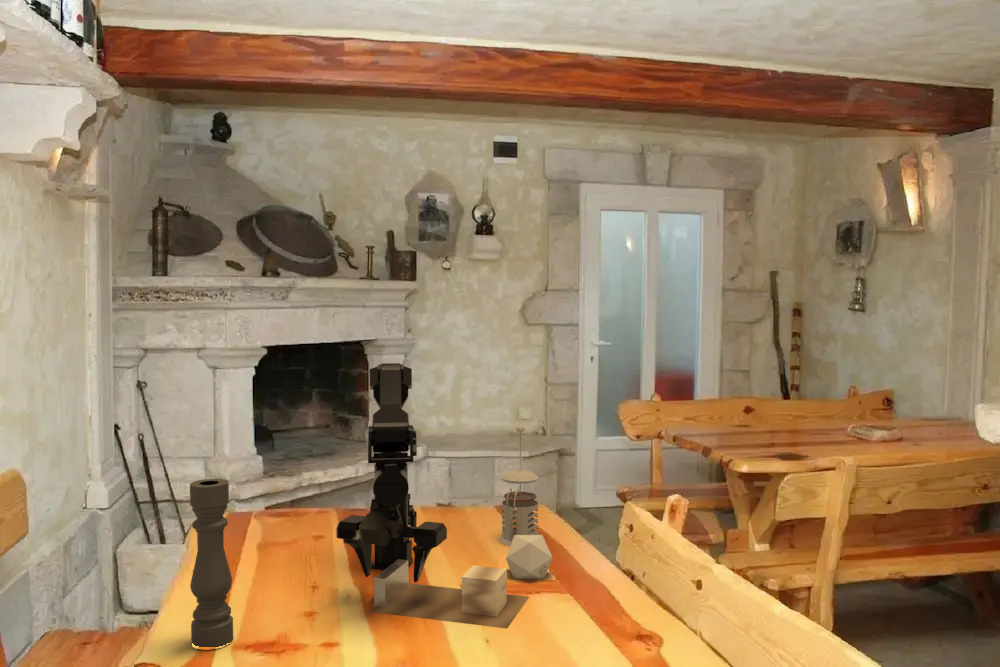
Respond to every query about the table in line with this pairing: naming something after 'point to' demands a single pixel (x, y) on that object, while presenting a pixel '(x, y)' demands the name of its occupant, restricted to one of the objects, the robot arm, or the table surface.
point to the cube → (484, 590)
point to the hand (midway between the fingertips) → (391, 579)
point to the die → (529, 557)
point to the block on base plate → (432, 600)
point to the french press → (518, 505)
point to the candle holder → (210, 565)
